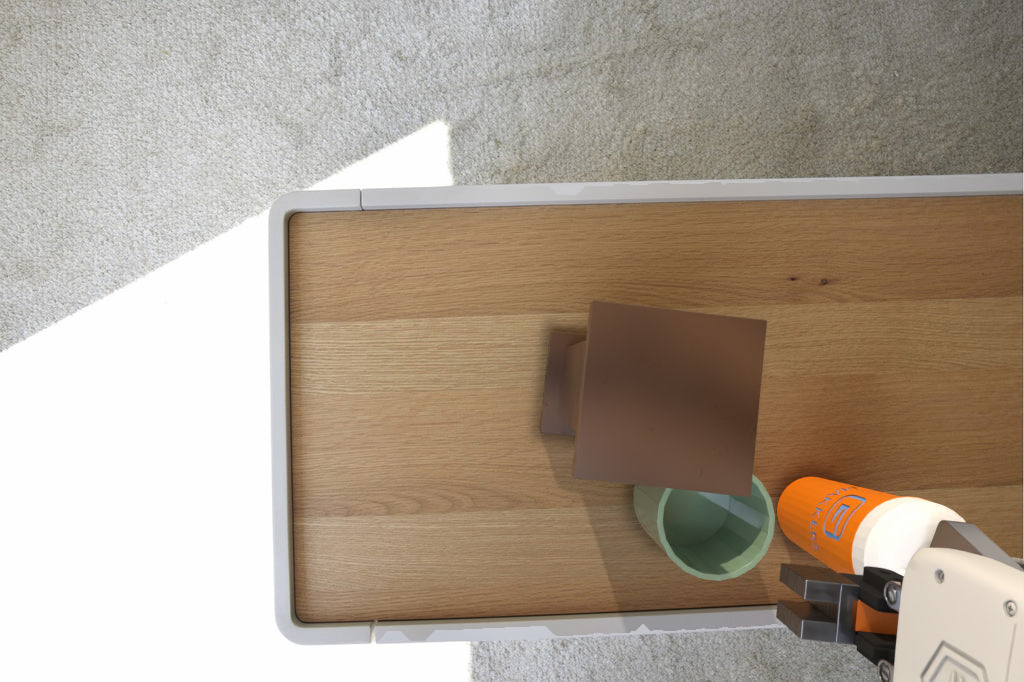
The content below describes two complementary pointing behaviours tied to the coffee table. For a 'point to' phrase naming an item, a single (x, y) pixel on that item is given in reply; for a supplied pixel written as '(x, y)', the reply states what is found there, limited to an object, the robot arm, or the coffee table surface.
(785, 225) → the coffee table surface
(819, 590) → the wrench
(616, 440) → the stand
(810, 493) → the shaker bottle
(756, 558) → the green cup
